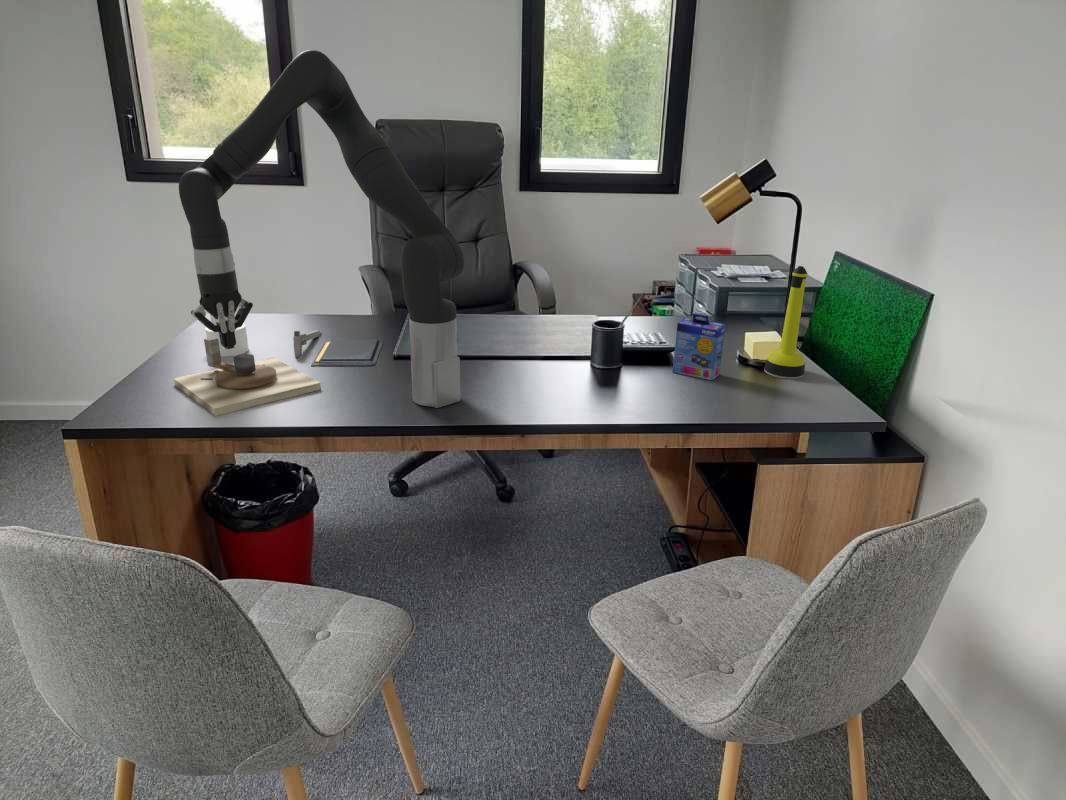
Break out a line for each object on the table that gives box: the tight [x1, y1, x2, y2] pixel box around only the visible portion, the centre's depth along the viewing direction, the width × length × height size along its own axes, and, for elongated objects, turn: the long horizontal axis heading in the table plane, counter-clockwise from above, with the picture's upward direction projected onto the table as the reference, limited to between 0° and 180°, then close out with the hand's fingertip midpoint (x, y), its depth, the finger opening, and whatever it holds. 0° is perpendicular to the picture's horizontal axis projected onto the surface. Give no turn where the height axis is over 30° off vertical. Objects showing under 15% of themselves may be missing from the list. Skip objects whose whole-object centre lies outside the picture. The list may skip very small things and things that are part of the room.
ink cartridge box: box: [672, 313, 726, 381], centre depth 163 cm, size 10×6×14 cm, turn 59°
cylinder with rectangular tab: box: [204, 310, 249, 358], centre depth 172 cm, size 9×9×12 cm
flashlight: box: [763, 265, 808, 380], centre depth 164 cm, size 25×9×9 cm
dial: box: [203, 337, 277, 389], centre depth 151 cm, size 17×12×7 cm
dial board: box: [173, 357, 322, 417], centre depth 151 cm, size 22×22×2 cm
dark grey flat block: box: [310, 338, 384, 368], centre depth 174 cm, size 20×2×15 cm
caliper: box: [293, 329, 322, 358], centre depth 179 cm, size 21×1×6 cm, turn 1°
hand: (229, 348), depth 156 cm, fingers closed
